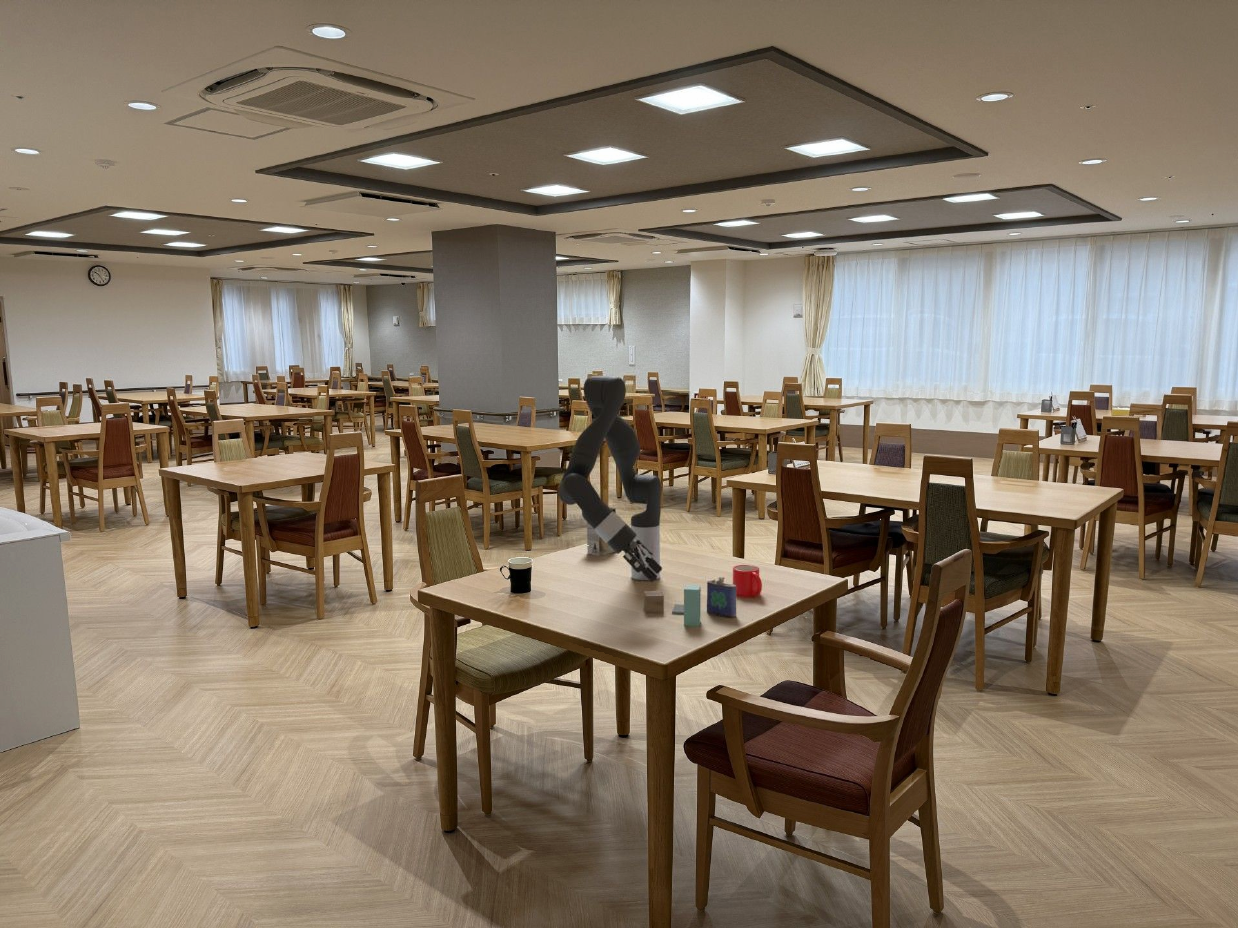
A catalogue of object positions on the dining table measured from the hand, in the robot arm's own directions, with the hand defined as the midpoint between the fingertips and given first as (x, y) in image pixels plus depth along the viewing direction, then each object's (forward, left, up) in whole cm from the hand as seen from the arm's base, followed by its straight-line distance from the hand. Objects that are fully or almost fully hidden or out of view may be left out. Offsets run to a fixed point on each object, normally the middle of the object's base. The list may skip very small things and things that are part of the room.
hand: (657, 575), depth 233 cm
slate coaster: (-11, +6, -13) cm, 19 cm away
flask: (-9, +16, -13) cm, 23 cm away
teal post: (0, +9, -13) cm, 16 cm away
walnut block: (-10, -3, -13) cm, 17 cm away
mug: (-29, +23, -13) cm, 40 cm away
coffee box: (-74, -32, -13) cm, 82 cm away
